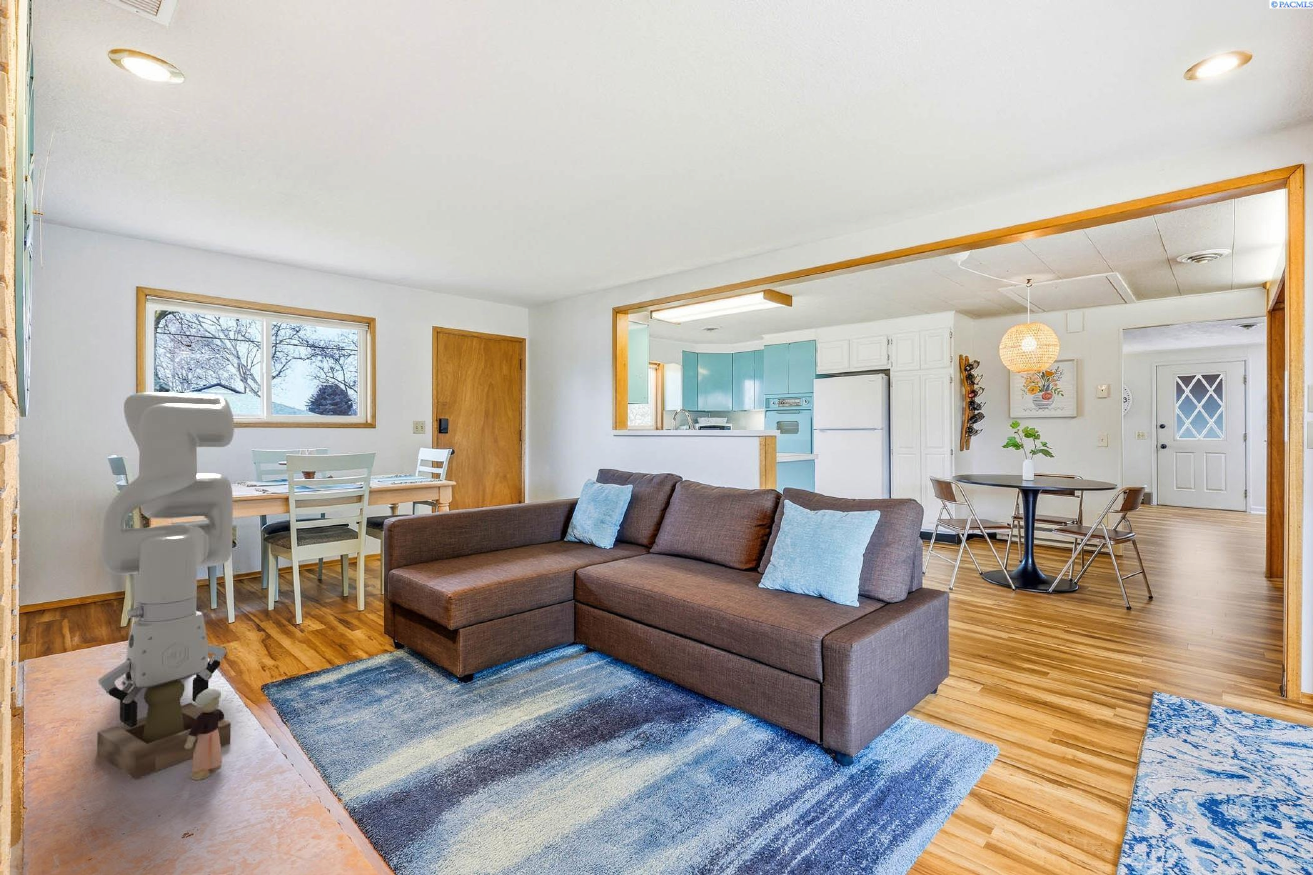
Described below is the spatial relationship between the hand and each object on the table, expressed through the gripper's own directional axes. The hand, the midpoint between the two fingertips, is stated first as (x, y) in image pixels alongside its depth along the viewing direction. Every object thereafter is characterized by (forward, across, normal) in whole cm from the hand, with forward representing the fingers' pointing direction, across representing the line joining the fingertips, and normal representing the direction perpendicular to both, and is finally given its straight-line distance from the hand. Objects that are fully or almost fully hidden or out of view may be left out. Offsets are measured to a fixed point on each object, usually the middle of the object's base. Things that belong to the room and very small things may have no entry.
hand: (165, 713), depth 102 cm
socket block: (+6, 0, 0) cm, 6 cm away
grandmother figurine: (+6, 0, -13) cm, 14 cm away
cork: (+6, 0, 0) cm, 6 cm away
